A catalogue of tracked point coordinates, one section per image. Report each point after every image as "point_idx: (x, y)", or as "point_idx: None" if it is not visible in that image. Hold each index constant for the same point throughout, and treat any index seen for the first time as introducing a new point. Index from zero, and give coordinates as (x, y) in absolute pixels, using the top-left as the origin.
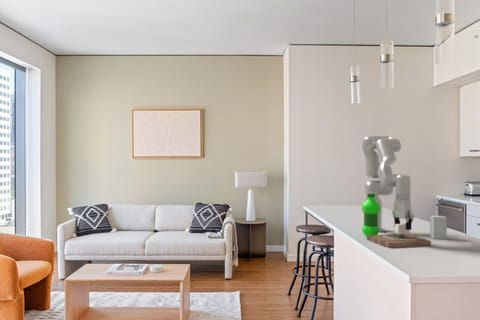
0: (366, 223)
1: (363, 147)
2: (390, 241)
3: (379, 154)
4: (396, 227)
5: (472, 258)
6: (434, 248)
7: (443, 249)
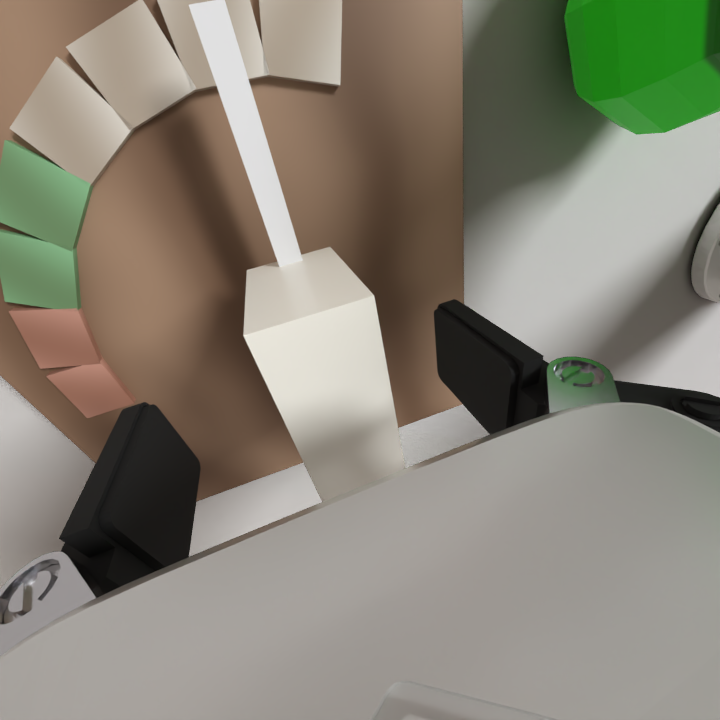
0: None
1: None
2: None
3: None
4: (309, 287)
5: None
6: (31, 489)
7: (19, 534)
